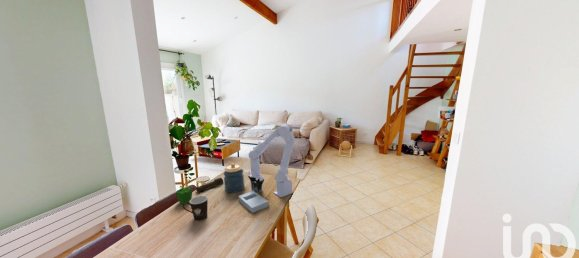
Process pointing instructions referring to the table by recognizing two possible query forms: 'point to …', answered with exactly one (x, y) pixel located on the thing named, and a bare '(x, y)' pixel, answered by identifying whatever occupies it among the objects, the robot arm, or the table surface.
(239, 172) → the canister
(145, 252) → the table surface
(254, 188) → the tall dark grey prism
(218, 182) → the hand tool
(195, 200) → the coffee mug
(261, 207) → the slotted pale blue plate
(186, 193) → the bell pepper
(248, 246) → the table surface
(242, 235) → the table surface
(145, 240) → the table surface
